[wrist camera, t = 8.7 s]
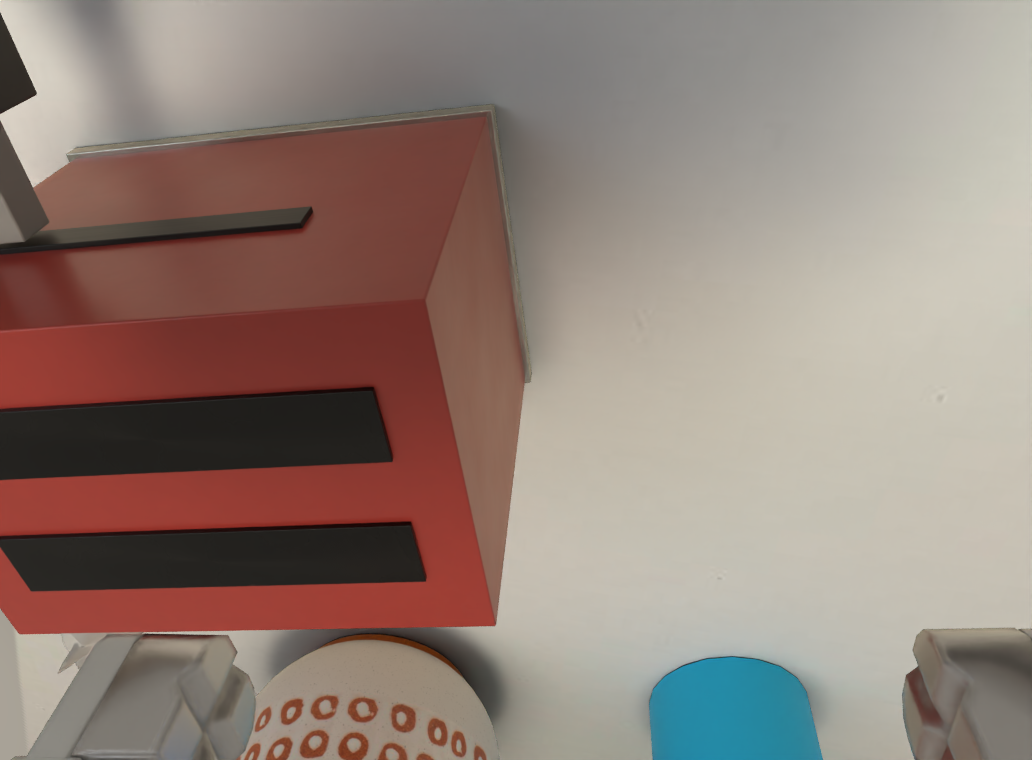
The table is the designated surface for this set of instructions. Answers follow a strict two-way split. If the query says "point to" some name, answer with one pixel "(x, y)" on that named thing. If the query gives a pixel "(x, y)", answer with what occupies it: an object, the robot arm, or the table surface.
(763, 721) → the mug
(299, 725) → the vase
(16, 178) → the toaster slider
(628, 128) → the table surface
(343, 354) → the toaster
